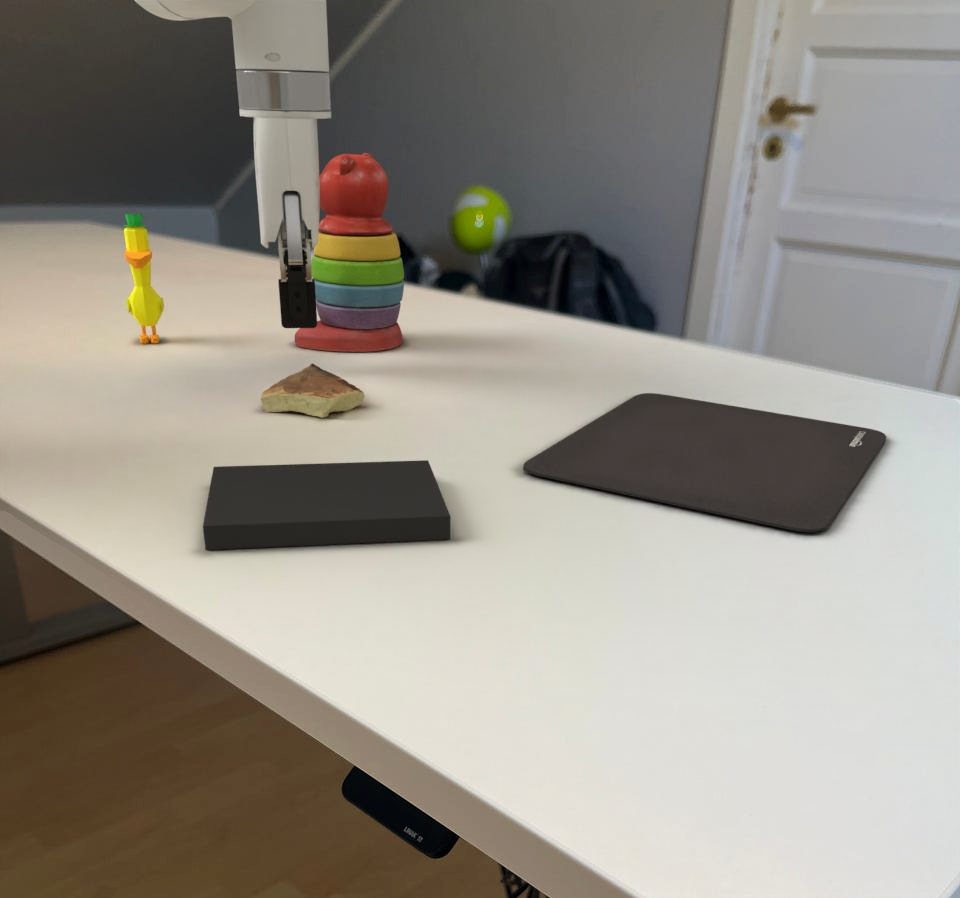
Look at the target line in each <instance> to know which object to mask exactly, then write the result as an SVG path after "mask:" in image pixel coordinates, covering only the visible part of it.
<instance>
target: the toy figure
mask: <svg viewBox="0 0 960 898" xmlns="http://www.w3.org/2000/svg"><path fill="white" fill-rule="evenodd" d="M124 216H125V220H126V223H127V224H124V225H123V227H125V228H123V234H124V242H125V243H124V244H125V248H126V250H124V251H123V255H124V258H125V261H126V262H127V263H128V264H129V268H130V272H131V275H132V279H133V284H134V287H133V289H132V291H131V292H130V293H129V296H128V297H127V298H125V302H126V309H127V312H128V313H130V314H131V316H132V317H133V318H134V320H135V321H136V322H137V323H138V325H139V326H140V327H141V334H140V335H139V343H140V344H142V345H143V344H144V345H145V344H149V343H151V344H159V343H160V335H159V334H157V328H156V326H157V324H158V322H159V321H160V319H161V317H162V315H163V312H164V310H165V303H164V298H163V297H161V296H160V295H159V294H158V292H157V291H156V290H155V289H154V288H153V286H152V283H151V282H152V273H151V271H152V270H151V263H152V261H151V260H152V259H153V250H150V249H151V247H150V242H149V234H148V229H147V228H146V227H147V224H143V213H126V214H124ZM146 327H151V334H150V335H149V334H147V329H146Z"/></svg>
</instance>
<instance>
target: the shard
mask: <svg viewBox="0 0 960 898" xmlns="http://www.w3.org/2000/svg"><path fill="white" fill-rule="evenodd" d="M364 398H365V392H364V391H363V390H361V389H360V388H359V387H357V386H356V385H354V384H352V383H349V381H347V380H345V379H344V378H342V377H341V376H339V375H337V374H334V373H332V372H330V371H327V370H326V369H323V368H321V367H320V366H317V365H316V364H314V363H311V364H310V365H309V366H306V367H304V368H303V369H301V370H300V371H298V372H295V373H292V374H290V375H288V376H286V377H285V378H283V379H281V380H279V381H277V382H275V383H274V384H272V385H270V386H269V388H267V389H265V390H264V391H262V392H261V395H260V403H261V406H262V408H263V411H264V413H278V412H279V413H280V412H286V413H287V412H296V413H298V412H299V413H302V414H305V415H308V416H313V417H319V418H326V417H329V414H330V413H333V412H334V413H335V412H339V413H340V412H346V411H351V410H353V409H354V408H357V407H360V406H361V405H362V404H363V402H364Z"/></svg>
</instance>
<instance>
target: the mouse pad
mask: <svg viewBox="0 0 960 898" xmlns="http://www.w3.org/2000/svg"><path fill="white" fill-rule="evenodd" d="M886 439H887V435H886V433H884V432H882V431H879V430H877V429H873V428H868V427H863V426H857V425H851V424H844V423H839V422H832V421H826V420H820V419H814V418H810V417H809V418H808V417H803V416H797V415H790V414H786V413H785V414H784V413H779V412H773V411H766V410H762V409H761V410H760V409H754V408H747V407H743V406H738V405H737V406H736V405H732V404H731V405H730V404H725V403H718V402H712V401H705V400H699V399H693V398H688V397H682V396H676V395H669V394H665V393H664V394H663V393H654V392H645V393H639V394H636V395H634V396H632V397H631V398H629V399H627V400H625V401H624V402H622V403H621V404H619V405H618V406H615V407H614V408H612V409H611V410H609V411H607V412H605V413H604V414H602V415H601V416H599V417H597V418H595V419H594V420H592V421H591V422H589V423H587V424H585V425H584V426H582V427H581V428H579V429H577V430H576V431H573V432H572V433H571V434H569V435H567V436H566V437H564V438H563V439H561V440H559V441H557V442H555V443H554V444H552V445H551V446H549V447H547V448H546V449H545V450H542V451H541V452H539V453H538V454H536V455H534V456H533V457H531V458H529V459H528V460H526V461H525V462H524V463H523V466H522V469H523V470H524V472H526V473H528V474H530V475H531V474H532V475H534V476H537V477H541V478H546V479H551V480H555V481H559V482H564V483H569V484H574V485H578V486H583V487H588V488H592V489H597V490H602V491H606V492H611V493H614V494H615V493H616V494H621V495H625V496H629V497H634V498H639V499H644V500H649V501H652V502H658V503H663V504H667V505H672V506H677V507H680V508H686V509H691V510H695V511H699V512H705V513H709V514H714V515H719V516H723V517H727V518H733V519H737V520H743V521H746V522H751V523H756V524H760V525H765V526H770V527H773V528H779V529H783V530H788V531H794V532H800V533H817V532H821V531H824V530H826V529H827V528H829V527H830V526H831V524H832V522H833V521H834V519H835V517H836V516H837V515H838V513H839V512H840V510H841V509H842V507H843V506H844V504H845V503H846V501H847V500H848V498H849V497H850V495H851V494H852V492H853V490H854V489H855V488H856V486H857V485H858V483H859V482H860V480H861V479H862V477H863V475H864V474H865V472H866V471H867V470H868V468H869V466H870V465H871V464H872V461H873V460H874V459H875V457H876V456H877V454H878V452H879V451H880V450H881V448H882V446H883V445H884V443H885V442H886Z"/></svg>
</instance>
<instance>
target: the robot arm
mask: <svg viewBox="0 0 960 898" xmlns="http://www.w3.org/2000/svg"><path fill="white" fill-rule="evenodd" d="M133 1H134V2H135V3H136V4H137V5H138V6H140V7H141V8H143V9H144V10H145V11H147V12H148V13H150V14H152V15H154V16H156V17H159V18H161V19H164V20H169V21H176V22H177V21H180V22H181V21H183V22H184V21H194V20H201V19H202V20H203V19H208V18H224V17H226V18H229V19H230V20H231V30H232V37H233V38H232V42H233V52H234V54H233V55H234V63H235V70H236V71H235V75H236V87H237V98H238V108H239V109H238V110H239V117H244V118H253V133H252V134H253V157H254V173H255V184H256V185H255V186H256V196H257V197H256V198H257V209H258V221H259V222H258V223H259V234H260V236H259V237H260V244H261V245H262V246H263V247H264V248H265V249H270V243H276V241H277V252H278V257H279V258H278V259H279V269H280V270H279V272H280V278H278V282H277V283H278V294H279V295H278V296H279V307H280V308H279V309H280V322H281V326H282V328H284V329H300V328H315V327H316V326H317V321H318V311H317V307H316V293H315V280H314V279H312V268H311V263H312V255H311V253H312V249H314V247H315V246H316V245H317V244H318V235H319V231H320V230H319V224H320V214H321V212H320V211H321V207H320V180H319V176H320V157H319V155H320V153H319V133H318V131H319V130H318V119H319V120H323V119H325V120H326V119H327V120H328V119H332V101H331V85H330V84H331V81H330V80H331V79H330V58H329V55H330V53H329V36H328V35H329V33H328V32H329V31H328V13H327V12H328V11H327V10H328V9H327V0H133Z"/></svg>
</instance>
